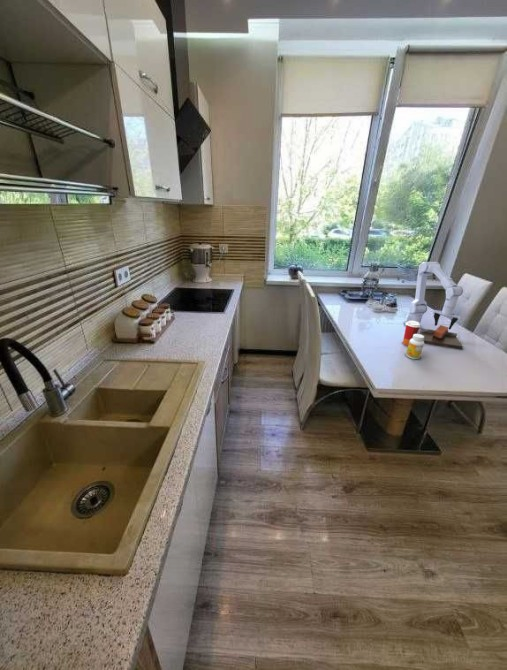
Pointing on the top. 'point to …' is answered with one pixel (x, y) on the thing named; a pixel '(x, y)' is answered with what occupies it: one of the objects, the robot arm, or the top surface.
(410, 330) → the paper cup
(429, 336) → the shelf board
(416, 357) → the supplement bottle
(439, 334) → the reddish orange block
